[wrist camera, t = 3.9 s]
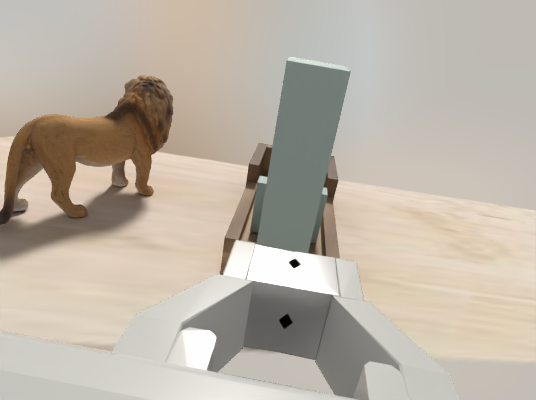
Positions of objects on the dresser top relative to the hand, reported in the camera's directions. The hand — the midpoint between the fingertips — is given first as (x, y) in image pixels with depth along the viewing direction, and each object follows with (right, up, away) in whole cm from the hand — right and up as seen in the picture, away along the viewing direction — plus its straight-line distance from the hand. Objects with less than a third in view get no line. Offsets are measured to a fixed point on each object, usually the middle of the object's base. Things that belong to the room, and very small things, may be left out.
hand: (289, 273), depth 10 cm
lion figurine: (-14, +2, +21) cm, 25 cm away
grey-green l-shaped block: (0, -1, +15) cm, 15 cm away
